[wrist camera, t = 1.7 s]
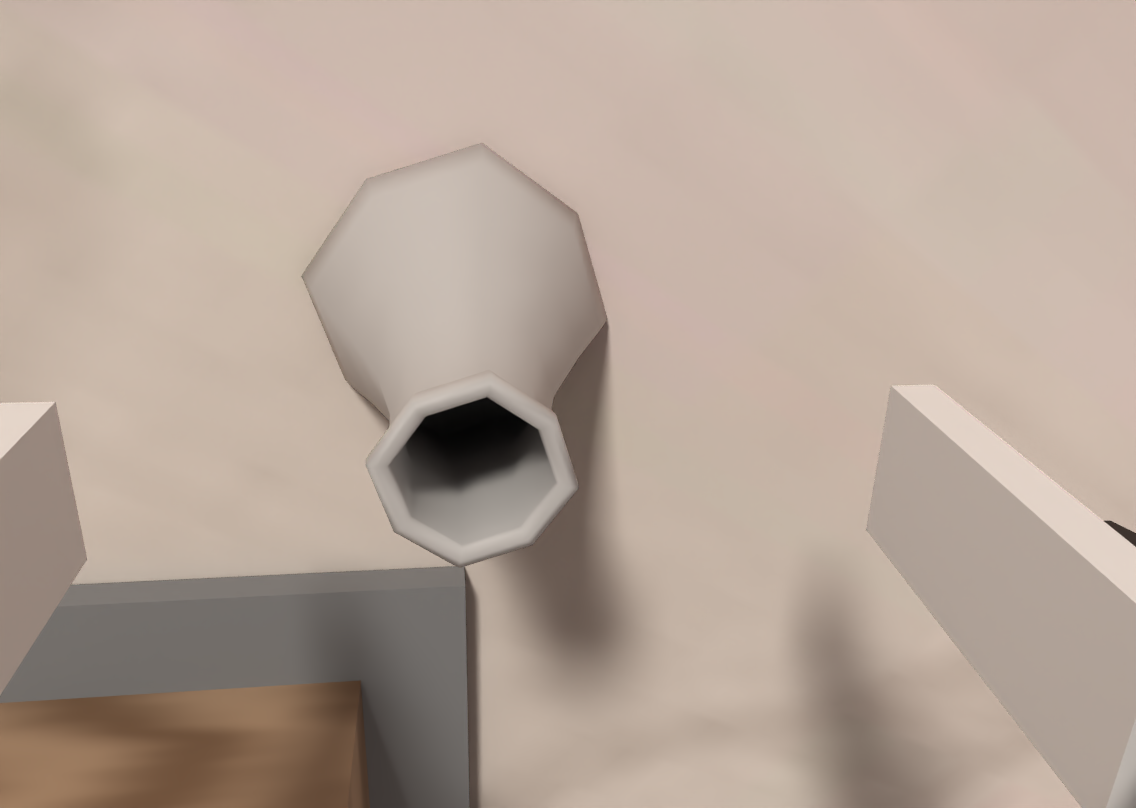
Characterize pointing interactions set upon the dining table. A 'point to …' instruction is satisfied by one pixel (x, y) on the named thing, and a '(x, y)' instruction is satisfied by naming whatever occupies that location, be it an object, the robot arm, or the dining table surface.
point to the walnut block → (188, 749)
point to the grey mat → (284, 657)
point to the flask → (461, 344)
